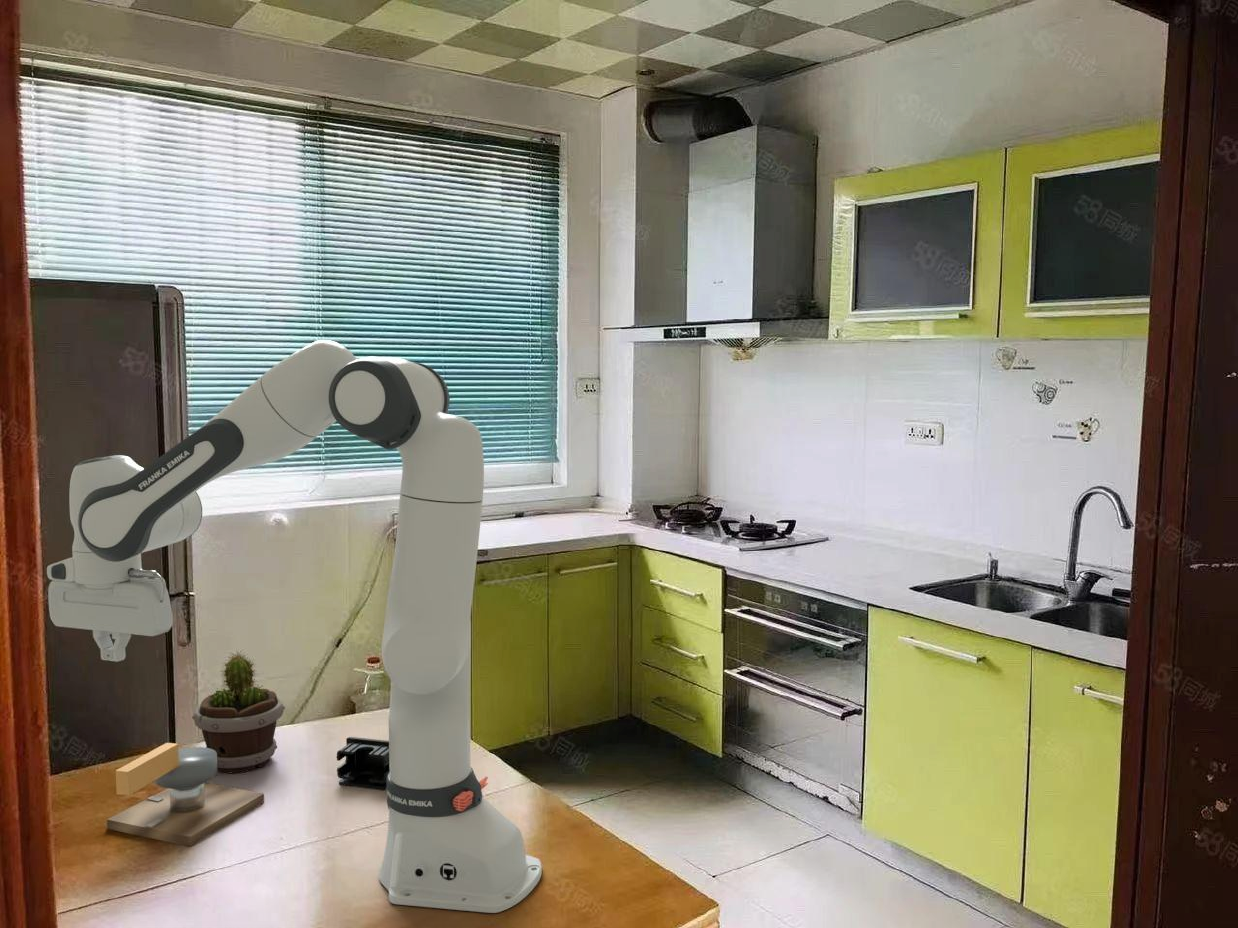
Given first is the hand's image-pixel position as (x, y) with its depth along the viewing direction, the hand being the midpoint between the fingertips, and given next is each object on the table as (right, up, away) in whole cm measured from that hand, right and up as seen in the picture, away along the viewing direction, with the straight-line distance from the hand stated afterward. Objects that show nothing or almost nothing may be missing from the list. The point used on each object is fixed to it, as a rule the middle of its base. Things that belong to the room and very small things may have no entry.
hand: (113, 659), depth 147 cm
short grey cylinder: (+7, -25, +10) cm, 28 cm away
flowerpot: (+7, -25, +31) cm, 41 cm away
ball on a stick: (+6, -21, +5) cm, 22 cm away
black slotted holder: (+32, -26, +24) cm, 48 cm away
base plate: (+7, -26, +10) cm, 29 cm away
